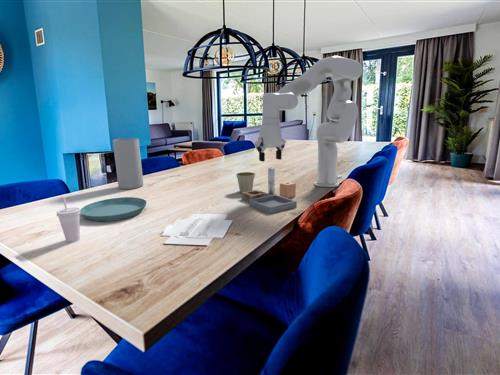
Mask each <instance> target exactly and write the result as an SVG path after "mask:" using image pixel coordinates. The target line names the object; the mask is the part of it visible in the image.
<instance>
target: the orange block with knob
mask: <svg viewBox="0 0 500 375" xmlns="http://www.w3.org/2000/svg"><path fill="white" fill-rule="evenodd" d="M296 186H297V184H296V183H295V182H293V181H285V182H280V183H279V196H282V197H285V198H288V199H291V198H294V197H296V194H297V192H296Z"/></svg>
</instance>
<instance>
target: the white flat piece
mask: <svg viewBox="0 0 500 375" xmlns="http://www.w3.org/2000/svg"><path fill="white" fill-rule="evenodd" d="M227 218H228V214H222V213H219V214H217V213H216V214H215V213H192V214H190V216H189V217H188V218H177V220H175V221H174V222H173V223H171V222H168V223H166V224H165V225H164V226H163V229H162V230H163V232H162V233H161V235H160V237H168V238H167V239H166V240H165V241H164V242H163V245H165V244H167V245H189V246H190V245H195V246H197V245H198V246H206V247H208V246H209V245H210V243H211V242H212V240H214V239H224V236H225V235H226V233H227V231H228V230H229V228H230V226H231V224H232V223H233V222H234V220H233V219H229V220H228V219H227Z"/></svg>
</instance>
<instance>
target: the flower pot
mask: <svg viewBox="0 0 500 375" xmlns="http://www.w3.org/2000/svg"><path fill="white" fill-rule="evenodd" d="M235 176H236V179H237V183H238V188H239V192H240V193H242V192H247V191H252V190H254V189H253V187H254V180H255V176H256V173H255V172H250V171H245V172H244V171H243V172H242V171H241V172H237V173H236V174H235Z"/></svg>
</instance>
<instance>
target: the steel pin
mask: <svg viewBox="0 0 500 375" xmlns="http://www.w3.org/2000/svg"><path fill="white" fill-rule="evenodd" d="M275 174H276V173H275V167H268V168H267V179H268V180H267V188H268V192H267V195H276V194H275V193H276V191H275V190H276V189H275V188H276V186H275V185H276V184H275V182H276V181H275V180H276V179H275Z"/></svg>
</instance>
